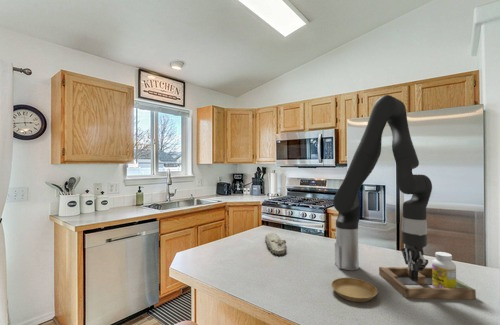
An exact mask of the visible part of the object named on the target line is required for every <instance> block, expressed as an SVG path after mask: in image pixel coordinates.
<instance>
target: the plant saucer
mask: <svg viewBox="0 0 500 325" xmlns="http://www.w3.org/2000/svg"><path fill="white" fill-rule="evenodd" d="M330 286H331V288H332V289H333V290H334V291H335V293H336V294H337V295H338V296H339V297H341V298H342V299H345V300H346V301H349V302H355V303H356V302H357V303H365V302H369V301H370V300H371V301H372V299H373V298H375V297H376V295H378V289H377V287H376V286H375V284H372V283H371V282H368V281H366V280H363V279H359V278H357V277H356V278H354V277H339V278H336V279H334V280H332V281H331V285H330Z"/></svg>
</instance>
